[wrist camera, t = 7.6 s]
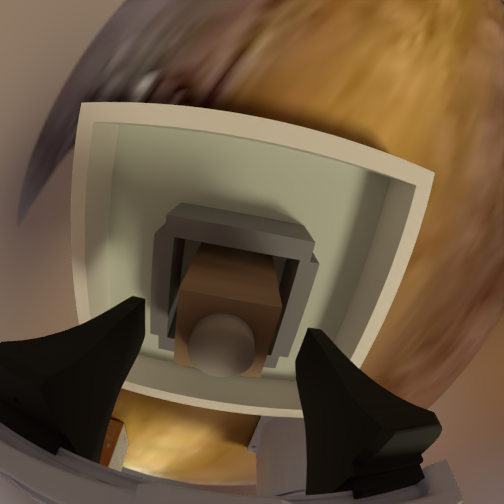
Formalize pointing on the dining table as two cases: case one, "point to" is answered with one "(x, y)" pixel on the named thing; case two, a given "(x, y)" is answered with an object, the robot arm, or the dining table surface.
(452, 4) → the dining table surface
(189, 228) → the cream square tray
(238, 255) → the peg
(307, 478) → the robot arm
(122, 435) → the small box
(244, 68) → the dining table surface
